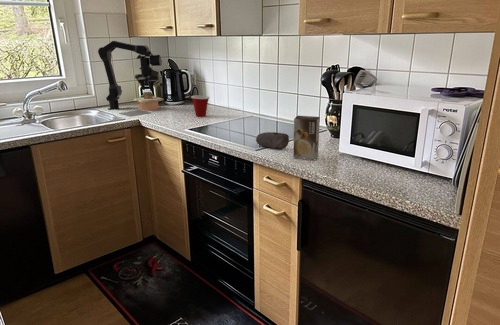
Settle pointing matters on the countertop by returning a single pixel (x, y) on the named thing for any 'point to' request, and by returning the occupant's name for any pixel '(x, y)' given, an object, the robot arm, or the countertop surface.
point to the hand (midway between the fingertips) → (147, 90)
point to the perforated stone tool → (273, 140)
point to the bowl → (148, 105)
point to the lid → (147, 98)
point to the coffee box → (306, 137)
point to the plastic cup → (200, 105)
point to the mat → (134, 113)
